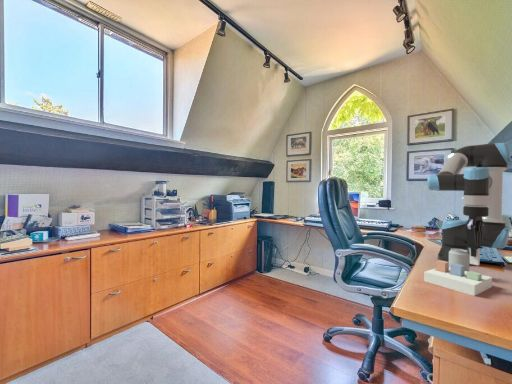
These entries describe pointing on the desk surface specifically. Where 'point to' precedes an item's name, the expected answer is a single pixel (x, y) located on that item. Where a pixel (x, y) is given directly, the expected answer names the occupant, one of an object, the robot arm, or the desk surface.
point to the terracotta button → (442, 266)
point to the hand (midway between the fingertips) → (474, 264)
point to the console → (458, 282)
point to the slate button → (457, 269)
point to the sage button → (474, 276)
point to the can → (459, 257)
